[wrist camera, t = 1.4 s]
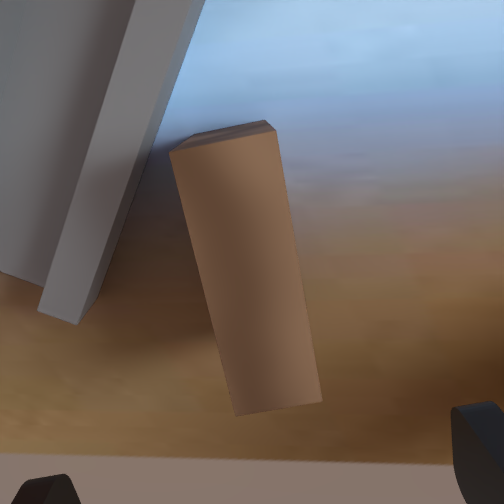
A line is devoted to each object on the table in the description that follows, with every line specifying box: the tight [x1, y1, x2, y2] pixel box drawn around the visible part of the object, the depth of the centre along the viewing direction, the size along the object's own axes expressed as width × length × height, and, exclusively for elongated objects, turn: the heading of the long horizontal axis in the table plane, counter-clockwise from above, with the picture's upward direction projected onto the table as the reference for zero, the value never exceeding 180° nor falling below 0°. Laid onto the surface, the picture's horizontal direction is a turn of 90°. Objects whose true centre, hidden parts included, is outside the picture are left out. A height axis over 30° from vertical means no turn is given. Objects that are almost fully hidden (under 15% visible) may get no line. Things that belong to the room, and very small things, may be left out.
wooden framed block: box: [169, 120, 322, 416], centre depth 22 cm, size 4×12×9 cm, turn 11°
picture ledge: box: [0, 0, 205, 325], centre depth 22 cm, size 10×24×4 cm, turn 156°
